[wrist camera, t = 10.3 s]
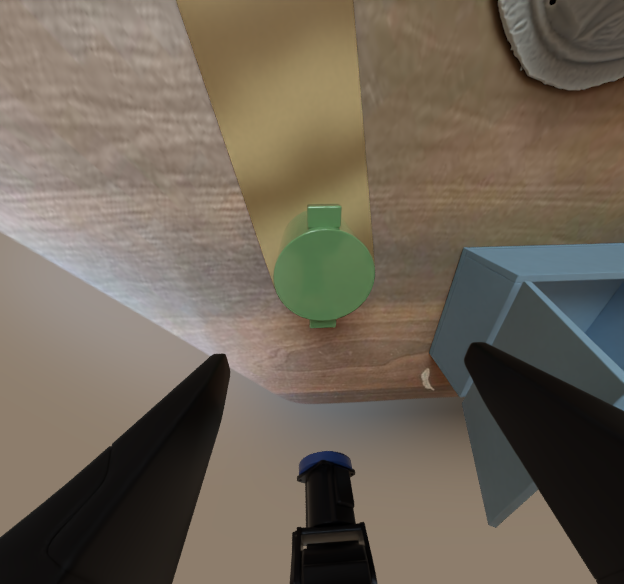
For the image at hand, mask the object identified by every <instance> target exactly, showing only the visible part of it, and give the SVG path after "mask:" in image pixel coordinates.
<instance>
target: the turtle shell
mask: <svg viewBox="0 0 624 584" xmlns="http://www.w3.org/2000/svg"><path fill="white" fill-rule="evenodd" d="M497 6H498V7H499V12H500V18H501V20H502V23H503V28H504V31H505V32H504V33H505V34H506V37H507V41H508V40H509V43H511V46H512V47H511V50H513V51H514V53H513V54H514V55H515V57H517V58H518V59H519V61H520V63H521V68H520V71H521V70H522V67H523V69H524V70H525V72H526V74H527V76H529V77H531V78H534V79H537V80H539V81H541V82H543V84H545V85H546V84H548V85H550V86H554V87H556V88H559V89H565V90H569V91H571V90H578V91H579V90H581V89H583V90H584V89H586V88H590V87H593V86H599V85H601V84H603V83H607V82H610V81H612V82H613V81H616V80H617V79H619V78H622V77H624V0H556V3H555V4H554V5H550V0H498V5H497Z"/></svg>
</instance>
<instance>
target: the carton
mask: <svg viewBox="0 0 624 584" xmlns="http://www.w3.org/2000/svg"><path fill="white" fill-rule="evenodd" d="M524 281H529V282H532V283H533V284H534V285H535V286H536V287H537V288H538V289H539V290H540V291H541V292H542V293H543V294H544V295H546V296H547V297H548V298H549V299H550V300H551V301H552V302H553V303H554V304H555V305H556V306H557V307H558V308H559V309H560V310H561V311H562V312H563V313H564V314H565V315H566V316H567V317H568V318H569V319H570V320H571V321H572V322H573V323H574V324H575V325H576V326H578V327H579V328H580V329H581V330H582V331H583V332H584V333H585V334H586V335H587V336H588V337H589V338H590V339H591V340H592V341H593V342H594V343H595V344H596V345H597V346H598V347H599V348H600V349H601V350H602V351H603V352H604V353H605V354H606V355H607V356H608V357H609V358H611V359H612V360H613V361H614V362H615V363H616V364H617V365H618V366H619V367H620V368H621V369H622V370H623V371H624V243H610V244H575V245H540V246H504V247H469V248H464V249H463V252H462V255H461V258H460V261H459V264H458V267H457V270H456V273H455V276H454V279H453V282H452V285H451V288H450V291H449V294H448V297H447V300H446V303H445V306H444V309H443V312H442V315H441V318H440V321H439V324H438V327H437V330H436V333H435V336H434V339H433V342H432V345H431V348H430V351H429V353H430V355H431V356H432V358H433V359H434V361H435V362H436V364H437V365H438V367H439V368H440V370H441V371H442V372H443V374H444V375H445V377H446V378H447V380H448V381H449V383H450V384H451V386H452V387H453V388H454V390H455V391H456V393H457V394H458V396H459V397H466V395H467V393H468V391H469V389H470V387H471V385H472V383H473V380H472V378H471V376H470V374H469V372H468V370H467V368H466V366H465V364H464V357H465V354H466V352H467V350H468V348H469V345H470V344H471V343H473V342H485V343H487V344H489V345H492V343H493V341H494V339H495V337H496V335H497V333H498V331H499V329H500V327H501V325H502V323H503V321H504V319H505V318H506V316H507V314H508V312H509V310H510V308H511V306H512V304H513V302H514V300H515V298H516V296H517V294H518V292H519V290H520V288H521V286H522V284H523V282H524Z"/></svg>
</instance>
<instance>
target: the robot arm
mask: <svg viewBox="0 0 624 584" xmlns="http://www.w3.org/2000/svg"><path fill="white" fill-rule="evenodd" d="M464 364H465V366H466V368H467V370H468V372H469V374H470V376H471V378H472V380H473V382H474V384H475V386H476V388H477V390H478V392H479V394H480V396H481V398H482V400H483V401H484V403H485V405H486V407H487V408H488V410H489V412H490V413H491V415H492V416H493V418H494V420H495V421H496V423H497V424H498V426H499V428H500V429H501V431H502V432H503V434H504V435H505V437H506V439H507V440H508V442H509V443H510V445H511V447H512V448H513V450H514V451H515V453H516V455H517V456H518V458H519V459H520V461H521V463H522V464H523V466H524V467H525V469H526V470H527V472H528V474H529V475H530V477H531V478H532V480H533V482H534V483H535V485H536V486H537V488H538V490H539V491H540V493H541V494H542V496H543V497H544V499H545V501H546V502H547V504H548V505H549V507H550V508H551V510H552V512H553V513H554V515H555V516H556V518H557V520H558V521H559V523H560V524H561V526H562V527H563V529H564V531H565V532H566V534H567V536H568V537H569V539H570V540H571V542H572V544H573V545H574V547H575V548H576V550H577V551H578V553H579V555H580V556H581V558H582V559H583V561H584V562H585V564H586V566H587V567H588V569H589V571H590V572H591V574H592V575H593V577H594V578H595V579H596V582H597V584H624V411H623V410H621V409H619V408H617V407H615V406H613V405H611V404H609V403H607V402H605V401H603V400H601V399H599V398H597V397H595V396H593V395H591V394H589V393H587V392H585V391H583V390H581V389H579V388H577V387H575V386H573V385H571V384H568V383H566V382H564V381H562V380H560V379H558V378H556V377H554V376H552V375H550V374H548V373H546V372H544V371H542V370H540V369H538V368H536V367H534V366H532V365H530V364H528V363H526V362H524V361H522V360H520V359H518V358H516V357H514V356H512V355H510V354H508V353H506V352H504V351H502V350H500V349H498V348H495V347H493V346H491V345H489V344H487V343H485V342H473V343H471V344H470V345H469V348H468V350H467V352H466V354H465V357H464ZM229 378H230V368H229V364H228V361H227V357H226V355H225V354H213V355H211V356H210V357H209V358H208V359H207V360H206V361H205V362H204V363H203V364H202V365H200V366H199V367H198V368H197V369H196V370H195V371H194V372H192V373H191V374H190V375H189V376H188V377H187V378H186V379H185V380H183V381H182V382H181V383H180V384H179V385H178V386H177V387H176V388H174V389H173V390H172V391H171V392H170V393H169V394H168V395H167V396H165V397H164V398H163V399H162V400H161V401H160V402H159V403H157V404H156V405H155V406H154V407H153V408H152V409H151V410H150V411H149V412H147V413H146V414H145V415H144V416H143V417H142V418H141V419H140V420H138V421H137V422H136V423H135V424H134V425H133V426H132V427H131V428H129V429H128V430H127V431H126V432H125V433H124V434H123V435H122V436H120V437H119V438H118V439H117V440H116V441H115V442H114V443H113V444H112V446H109V447H108V448H107V449H106V450H105V451H104V452H103V453H101V454H100V455H99V456H98V457H97V458H96V459H94V460H93V461H92V462H91V463H90V464H89V465H88V466H86V467H85V468H84V469H83V470H82V471H81V472H80V473H79V474H77V475H76V476H75V477H74V478H73V479H71V480H70V481H69V482H68V483H67V484H65V485H64V486H63V487H62V488H61V489H59V490H58V491H57V492H56V493H55V494H53V495H52V496H51V497H50V498H48V499H47V500H46V501H45V502H44V503H42V504H41V505H40V506H39V507H38V508H36V509H35V510H34V511H33V512H31V513H30V514H29V515H28V516H26V517H25V518H24V519H23V520H21V521H20V522H19V523H18V524H16V525H15V526H14V527H13V528H12V529H10V530H9V531H8V532H6V533H5V534H4V535H3V536H1V537H0V584H172V582H173V579H174V575H175V572H176V569H177V565H178V562H179V559H180V556H181V552H182V549H183V545H184V542H185V539H186V536H187V532H188V529H189V526H190V522H191V519H192V516H193V513H194V509H195V506H196V502H197V499H198V496H199V493H200V489H201V486H202V483H203V480H204V476H205V473H206V469H207V466H208V463H209V459H210V456H211V453H212V450H213V446H214V443H215V440H216V437H217V433H218V430H219V427H220V423H221V419H222V415H223V410H224V405H225V400H226V394H227V388H228V384H229ZM353 475H355V470H354V469H351V468H348V467H345V466H342V465H339V464H336V463H333V462H330V461H327V460H320V461H319V462H317V463H316V464H314V465H313V466H312V467H310V468H309V469H307V470H306V471H304V472H303V473H302V474H300V475H299V476H297V481H299V482H302V483H305V486H306V487H305V490H306V491H305V492H306V528H301V527H297V531H295V532H293V533H292V560H291V575H290V584H377V579H376V573H375V568H374V564H373V559H372V554H371V550H370V546H369V541H368V537H367V533H366V528H365V523H364V522H360V523H359V524H356V523H355V517H354V511H353V508H354V500H353V493H352V487H351V481H350V477H352V476H353ZM303 546H307V549H304V550H303Z"/></svg>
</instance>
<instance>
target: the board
mask: <svg viewBox="0 0 624 584" xmlns="http://www.w3.org/2000/svg"><path fill="white" fill-rule="evenodd" d="M176 1H177V4H178V7H179V10H180V13H181V16H182V19H183V22H184V25H185V28H186V31H187V33H188V36H189V39H190V42H191V45H192V48H193V51H194V54H195V57H196V60H197V63H198V66H199V69H200V71H201V74H202V77H203V80H204V83H205V86H206V89H207V92H208V95H209V98H210V101H211V104H212V107H213V109H214V112H215V115H216V118H217V121H218V124H219V127H220V130H221V133H222V136H223V139H224V142H225V145H226V147H227V150H228V153H229V156H230V159H231V162H232V165H233V168H234V171H235V174H236V177H237V180H238V183H239V186H240V188H241V191H242V194H243V197H244V200H245V203H246V206H247V209H248V212H249V215H250V218H251V221H252V224H253V226H254V229H255V232H256V235H257V238H258V241H259V244H260V247H261V250H262V253H263V256H264V259H265V262H266V264H267V267H268V270H269V273H270V276H271V279H272V282H273V285H274V278H273V275H274V268H275V264H276V260H277V256H278V252H279V248H280V243H281V239H282V236H283V233H284V230H285V228H286V226H287V225H288V224H289V222H290V221H291V220H292V219H293V218H294V217H296V216H297V215H298V214H300V213H302V212H304V211H307V205H308V204H339V205H340V206H341V207H342V213H341V217H342V218H343V219H344V220H345V221H346V223H347V224H348V225H349V226H350V228H351V229H352V230H353V231H354V233H355V234H356V235H357V236H358V238H359V239H360V240H361V241H362V243H363V244H364V245H365V246H366V247H367V249H368V250H369V252H370V254H371V256H372V259H373V262H374V251H373V239H372V226H371V214H370V202H369V190H368V177H367V165H366V153H365V140H364V128H363V116H362V104H361V91H360V79H359V67H358V54H357V42H356V30H355V17H354V5H353V0H176ZM374 266H375V263H374ZM274 288H275V286H274Z"/></svg>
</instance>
